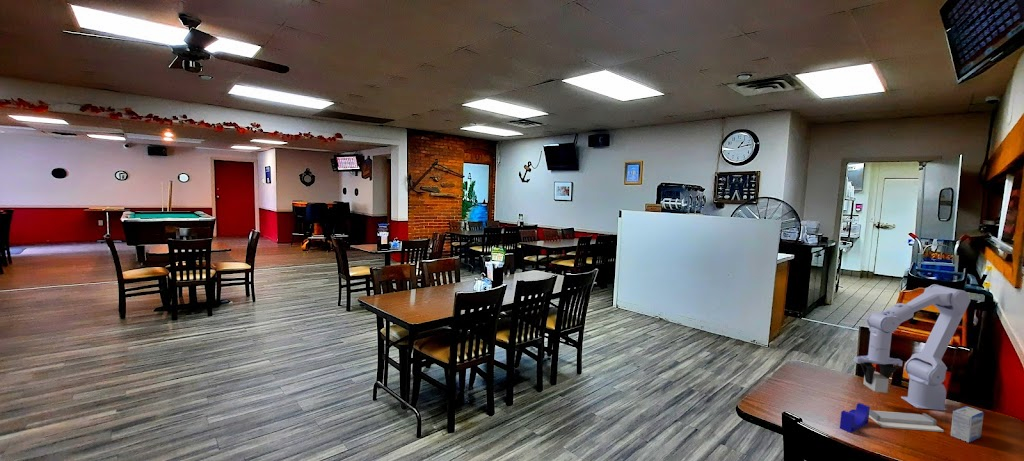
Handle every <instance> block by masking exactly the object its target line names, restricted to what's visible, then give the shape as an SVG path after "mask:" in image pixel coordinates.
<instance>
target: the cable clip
mask: <svg viewBox="0 0 1024 461" xmlns="http://www.w3.org/2000/svg"><path fill="white" fill-rule="evenodd" d="M870 409H871V407H870V406H869V405H865V404H863V403H861V402H858V403H857V404H856V408H855V409H851V410H849V411H846V410H842V411H840V412H841V413H840V423H839V429H840V430H841V431H845V432H847V433H849V434H852V433H853V432H855V431H857V430H859V429H861V428H862V427H864V426H867V425H868V424H869V419H870V417H869V410H870Z"/></svg>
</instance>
